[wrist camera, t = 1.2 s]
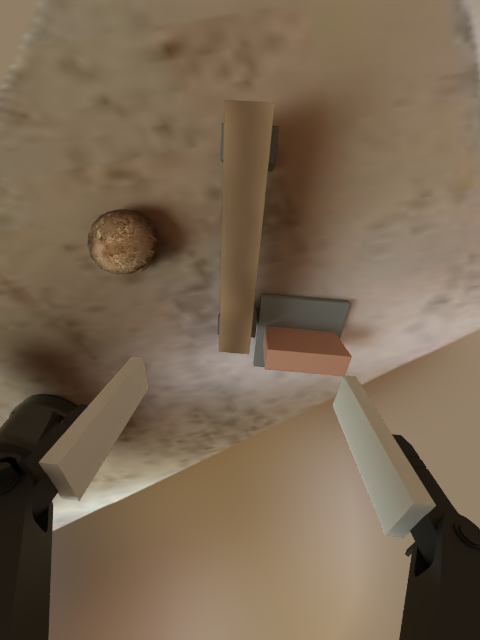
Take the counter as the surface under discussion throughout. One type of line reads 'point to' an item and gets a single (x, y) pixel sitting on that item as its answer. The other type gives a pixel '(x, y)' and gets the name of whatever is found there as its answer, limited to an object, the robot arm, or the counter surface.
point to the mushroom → (122, 241)
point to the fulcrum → (301, 335)
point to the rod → (242, 216)
